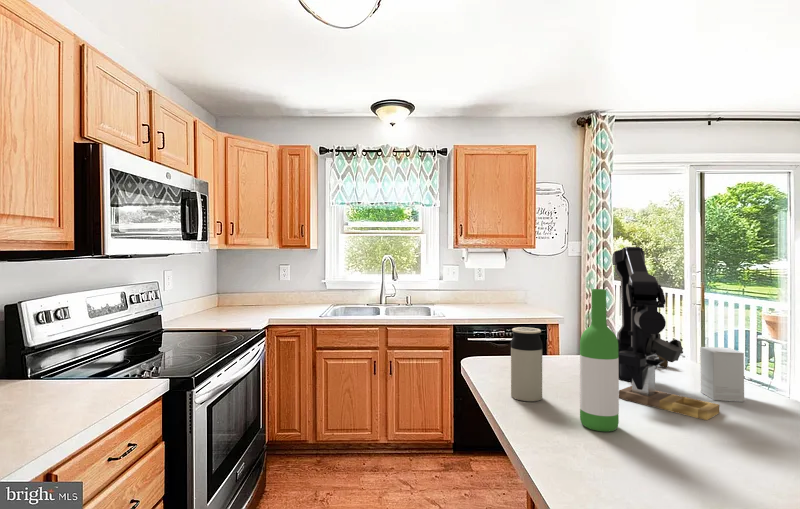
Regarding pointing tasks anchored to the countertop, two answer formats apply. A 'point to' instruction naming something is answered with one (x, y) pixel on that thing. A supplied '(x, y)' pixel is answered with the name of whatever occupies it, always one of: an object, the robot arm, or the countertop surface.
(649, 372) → the peg
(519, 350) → the travel mug
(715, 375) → the supplement box
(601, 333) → the wine bottle
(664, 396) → the wooden slotted board
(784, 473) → the countertop surface
